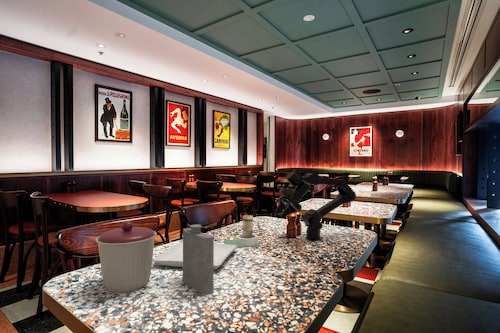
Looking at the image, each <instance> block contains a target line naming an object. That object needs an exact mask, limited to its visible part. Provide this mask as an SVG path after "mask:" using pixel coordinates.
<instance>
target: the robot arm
mask: <svg viewBox="0 0 500 333" xmlns="http://www.w3.org/2000/svg"><path fill="white" fill-rule="evenodd" d="M285 180H287V181H288V183H289V184H290V185H291V186H292V187H295V188H294V189H292V188H290V187H289V186H288V187H286V188H285V187H282V186H280V188H279V191H278V193H279V194H281V195H279V197H278V204H277V207H276V209H275V211H274V214H276V215H277V214H279V213H280V212H282V213H281V215H280V217H281V218H284V217H287V216H288V215H289V216H290V215H291V214H294V213H298V212H300V211H301V210H302V207H303V206H302V204H300V202H299V201H301V200H303V199H304V198H303V197H304V196H305V195H306V194H307V192H310V193H314V192H313V186H317V185H327V186H335V187H336V190H337V193H338V194H337V195H336V197H334V198H333V199H332V200H330V201H328V202H327V203H325V204H324V205H323V206H321V207H319V208H317V209H313V208H310V209H309V210H307V211H304V214H303V215H302V222H303V223H304V225H305V227H306V231H305V232H306V234H305V235H306V236H305V239H306V240H309V241H311V242H314V241H315V242H317V241H321V240H323V238H321V229H323V226H324V224H322V222H321V220H322V219H323V217H325V216H326V215H328V214H330V213H331V212H333V211H334V210H335V209H338V208H339V207H340V206H342V205H344V204H349V203H351V202H353V201H355V200H356V197H357V194H356V192H355V191H354V190H353V188H352V187H351V186H350V185H349V184H347V181H345V180H344V179H342V178H341V179H339V178H337V179H336V178H332V177H331V178H330V177H325V176H321V175H318V174H316V173H307V172H306V173H305V174H304V175H301V174H300V173H299V171H298V170H297V169H293V171H291V172H288V173H287V174H286V176H285ZM310 185H311V186H310Z"/></svg>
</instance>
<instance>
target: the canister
mask: <svg viewBox="0 0 500 333" xmlns="http://www.w3.org/2000/svg"><path fill="white" fill-rule="evenodd" d="M156 237H157V232H156V231H155V230H153V229H152V228H148V227H142V226H134V223H133V222H132V221H130V220H129V221H127V220H126V221H123V222H122V223H121V226H120V227H119V228H115V229H110V230H107V231H105V232H103V233H101V234H100V235H98V236H97V237H96V238H95V240H94V241H95V242H96V243H97V246H98V253H99V254H98V256H99V262H100V269H101V276H102V282H103V286H104V287H105V289H106V290H107V291H109V292H111V293H115V294H116V293H117V294H118V293H120V294H122V293H128V292H133V291H137V290H139V289H142V288H143V287H145V286H146V285H147V284H148V283H149V280H150V278H151V272H152V266H153V261H152V259H153V257H154V249H155V247H154V246H155V238H156Z"/></svg>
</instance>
